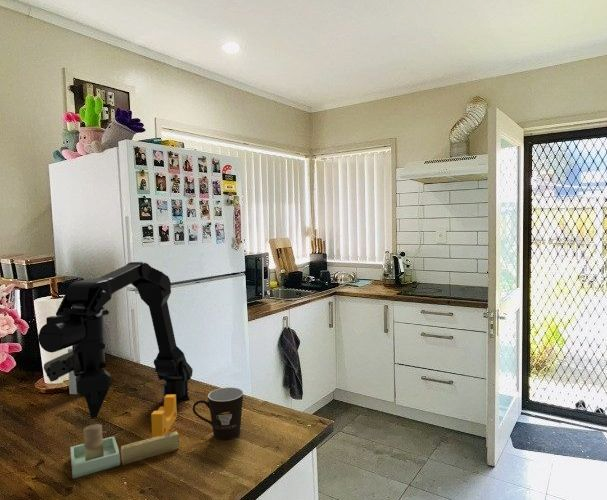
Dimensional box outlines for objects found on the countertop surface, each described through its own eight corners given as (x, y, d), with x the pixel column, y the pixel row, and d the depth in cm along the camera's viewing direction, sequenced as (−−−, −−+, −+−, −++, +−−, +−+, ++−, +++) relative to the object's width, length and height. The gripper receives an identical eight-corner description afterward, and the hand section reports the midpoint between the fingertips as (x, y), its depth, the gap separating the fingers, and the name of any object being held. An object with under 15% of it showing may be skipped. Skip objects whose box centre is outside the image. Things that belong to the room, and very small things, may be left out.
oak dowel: (102, 452, 94) (100, 422, 94) (104, 460, 91) (102, 429, 91) (84, 457, 92) (82, 427, 92) (86, 465, 89) (84, 433, 89)
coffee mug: (250, 428, 106) (249, 389, 105) (234, 444, 98) (232, 403, 97) (210, 422, 110) (209, 384, 109) (191, 437, 102) (190, 397, 101)
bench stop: (177, 445, 98) (176, 431, 98) (178, 448, 96) (178, 434, 96) (121, 461, 92) (121, 446, 91) (122, 464, 90) (122, 449, 90)
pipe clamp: (160, 418, 113) (159, 394, 113) (176, 417, 113) (175, 394, 113) (145, 440, 101) (143, 414, 101) (163, 440, 101) (162, 414, 101)
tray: (114, 446, 98) (114, 436, 98) (120, 464, 90) (119, 453, 90) (71, 458, 93) (70, 447, 93) (72, 478, 86) (72, 466, 86)
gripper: (45, 335, 94) (49, 403, 95) (44, 356, 78) (48, 437, 79) (100, 328, 100) (103, 392, 101) (109, 346, 84) (112, 422, 85)
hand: (92, 409), depth 91 cm, fingers open, 9 cm apart
